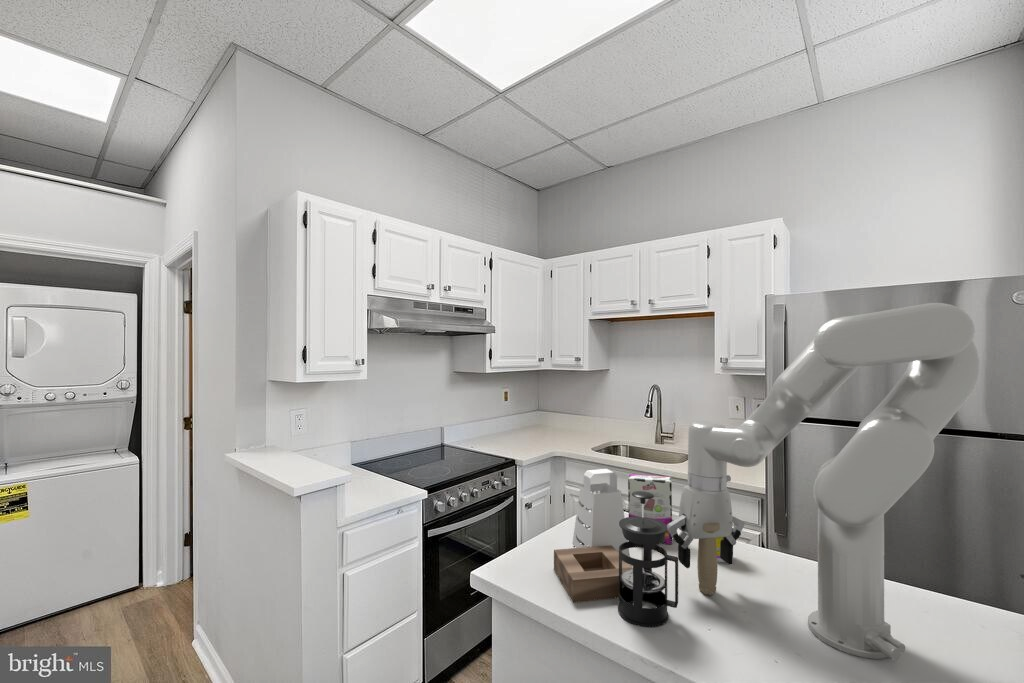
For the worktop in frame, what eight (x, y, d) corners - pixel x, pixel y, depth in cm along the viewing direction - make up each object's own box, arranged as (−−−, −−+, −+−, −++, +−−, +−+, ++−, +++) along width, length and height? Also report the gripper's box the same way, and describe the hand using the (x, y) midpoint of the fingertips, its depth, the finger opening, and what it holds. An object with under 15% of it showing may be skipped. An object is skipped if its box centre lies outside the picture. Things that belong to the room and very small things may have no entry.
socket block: (638, 596, 95) (638, 574, 95) (573, 602, 92) (573, 580, 92) (611, 564, 109) (611, 545, 109) (553, 569, 106) (553, 549, 106)
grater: (572, 545, 119) (572, 467, 119) (608, 540, 122) (608, 464, 122) (590, 563, 109) (591, 478, 109) (630, 558, 112) (630, 475, 112)
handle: (720, 587, 98) (720, 516, 99) (719, 602, 93) (719, 527, 93) (695, 582, 100) (695, 512, 101) (694, 596, 95) (694, 523, 95)
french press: (608, 618, 87) (608, 495, 87) (621, 594, 95) (621, 482, 96) (673, 636, 82) (673, 505, 82) (681, 609, 90) (681, 491, 90)
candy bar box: (671, 537, 124) (671, 476, 124) (672, 545, 119) (672, 481, 119) (628, 532, 127) (629, 472, 128) (627, 539, 123) (628, 477, 123)
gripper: (731, 475, 102) (730, 552, 102) (659, 477, 99) (658, 557, 99) (755, 485, 95) (754, 568, 95) (678, 489, 92) (677, 575, 92)
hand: (705, 563), depth 97 cm, fingers open, 9 cm apart
